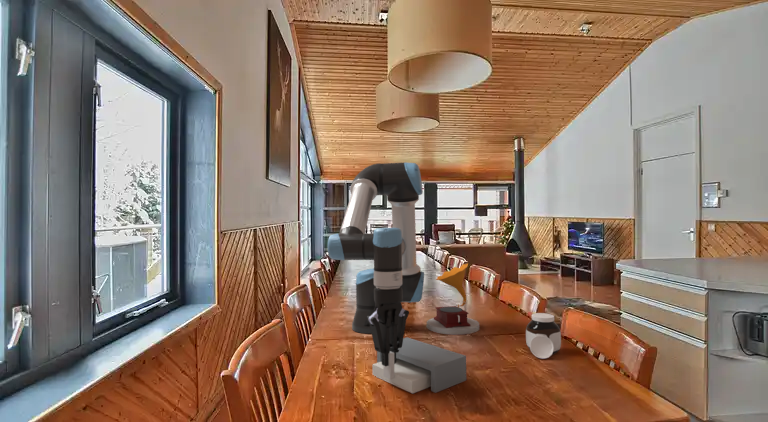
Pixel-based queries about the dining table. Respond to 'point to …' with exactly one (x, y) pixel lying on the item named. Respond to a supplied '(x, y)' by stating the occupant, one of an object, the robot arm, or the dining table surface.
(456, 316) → the gramophone
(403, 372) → the pale grey flat slab
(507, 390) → the dining table surface
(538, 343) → the spread jar
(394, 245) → the robot arm
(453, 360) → the low overhang
